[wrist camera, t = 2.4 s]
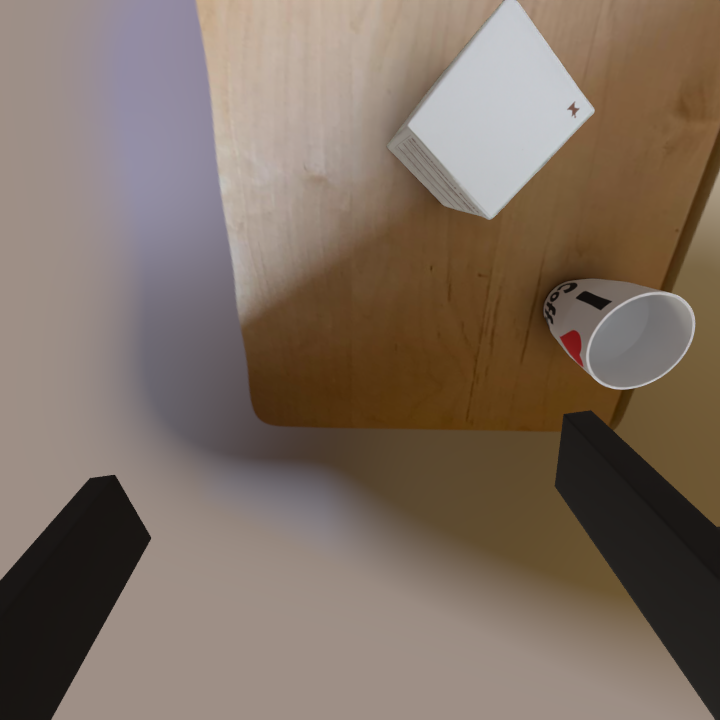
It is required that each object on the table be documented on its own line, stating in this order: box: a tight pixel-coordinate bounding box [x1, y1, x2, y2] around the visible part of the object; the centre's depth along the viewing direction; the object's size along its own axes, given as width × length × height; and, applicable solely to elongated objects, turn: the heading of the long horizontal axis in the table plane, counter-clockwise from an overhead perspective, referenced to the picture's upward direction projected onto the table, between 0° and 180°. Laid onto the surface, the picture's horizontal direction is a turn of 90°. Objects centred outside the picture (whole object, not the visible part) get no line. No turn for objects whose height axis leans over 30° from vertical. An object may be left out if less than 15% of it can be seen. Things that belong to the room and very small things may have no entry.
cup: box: [543, 279, 695, 389], centre depth 32 cm, size 8×8×10 cm
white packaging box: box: [387, 0, 595, 219], centre depth 25 cm, size 7×7×13 cm
